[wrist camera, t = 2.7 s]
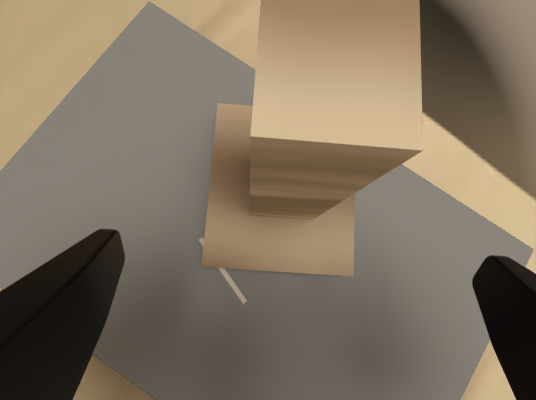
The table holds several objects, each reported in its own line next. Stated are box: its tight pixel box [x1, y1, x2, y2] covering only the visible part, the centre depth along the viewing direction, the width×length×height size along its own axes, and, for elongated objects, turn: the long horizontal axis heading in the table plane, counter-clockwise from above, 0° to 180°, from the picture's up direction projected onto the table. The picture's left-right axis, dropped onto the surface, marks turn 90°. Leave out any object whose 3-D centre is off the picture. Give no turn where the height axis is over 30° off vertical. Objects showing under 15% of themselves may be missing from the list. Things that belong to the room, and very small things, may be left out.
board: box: [0, 2, 534, 400], centre depth 18 cm, size 26×17×2 cm, turn 56°
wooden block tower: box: [201, 0, 423, 276], centre depth 12 cm, size 8×7×12 cm
